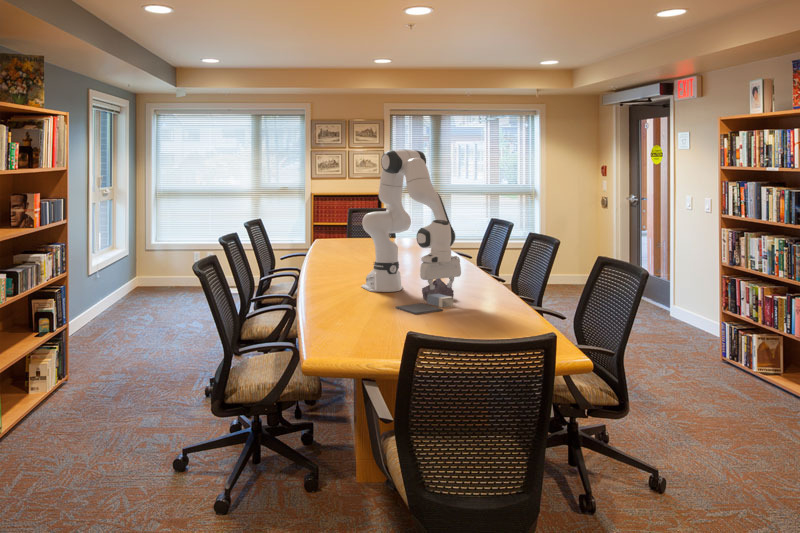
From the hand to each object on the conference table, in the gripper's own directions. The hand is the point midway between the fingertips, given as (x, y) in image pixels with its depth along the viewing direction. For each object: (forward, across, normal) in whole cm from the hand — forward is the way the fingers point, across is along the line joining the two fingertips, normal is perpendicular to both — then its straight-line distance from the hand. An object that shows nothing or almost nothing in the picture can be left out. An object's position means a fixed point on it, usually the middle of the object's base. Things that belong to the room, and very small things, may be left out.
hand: (441, 288), depth 301 cm
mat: (+8, +14, +3) cm, 16 cm away
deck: (+8, 0, -1) cm, 8 cm away
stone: (+8, -6, -12) cm, 15 cm away
